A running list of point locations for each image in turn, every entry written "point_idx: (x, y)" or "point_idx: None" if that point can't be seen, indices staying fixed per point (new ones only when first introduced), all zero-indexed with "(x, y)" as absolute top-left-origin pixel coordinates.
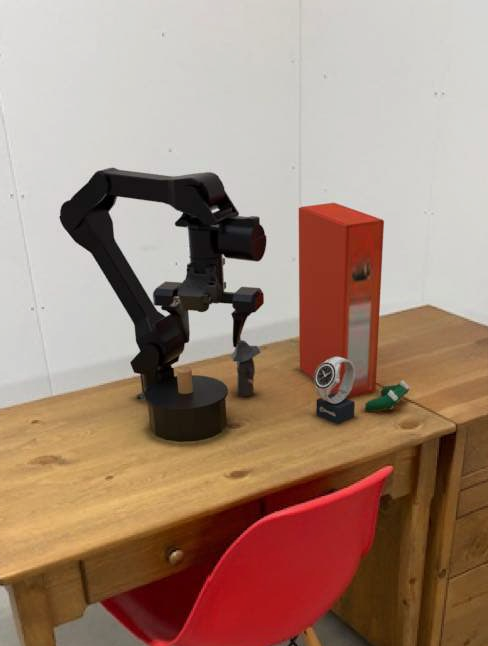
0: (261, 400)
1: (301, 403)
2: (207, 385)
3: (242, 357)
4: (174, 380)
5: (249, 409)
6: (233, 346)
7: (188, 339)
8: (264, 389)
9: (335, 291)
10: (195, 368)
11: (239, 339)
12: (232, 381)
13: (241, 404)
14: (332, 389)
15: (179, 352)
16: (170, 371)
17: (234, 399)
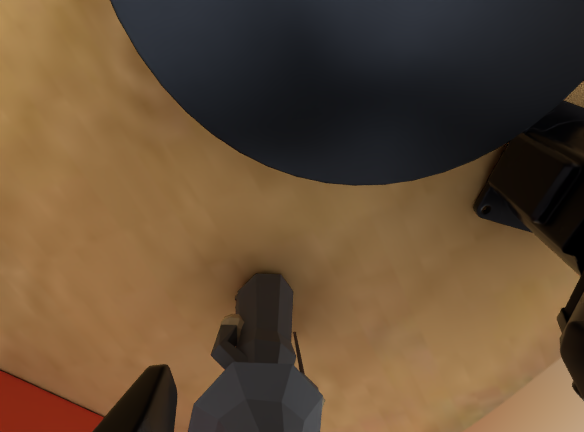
0: (190, 270)
1: (55, 292)
2: (289, 62)
3: (240, 386)
4: (522, 63)
5: (190, 195)
6: (165, 367)
7: (573, 359)
8: None
9: None
10: (487, 386)
11: None
12: (345, 351)
13: (238, 222)
14: (12, 386)
15: (578, 316)
16: (570, 224)
17: (281, 248)
